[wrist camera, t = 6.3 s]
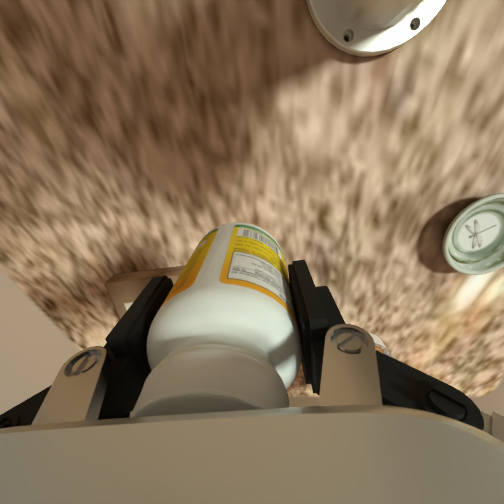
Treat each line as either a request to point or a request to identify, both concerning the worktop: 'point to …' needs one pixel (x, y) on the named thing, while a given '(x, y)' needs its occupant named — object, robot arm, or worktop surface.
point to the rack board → (135, 285)
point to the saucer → (477, 237)
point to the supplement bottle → (224, 330)
